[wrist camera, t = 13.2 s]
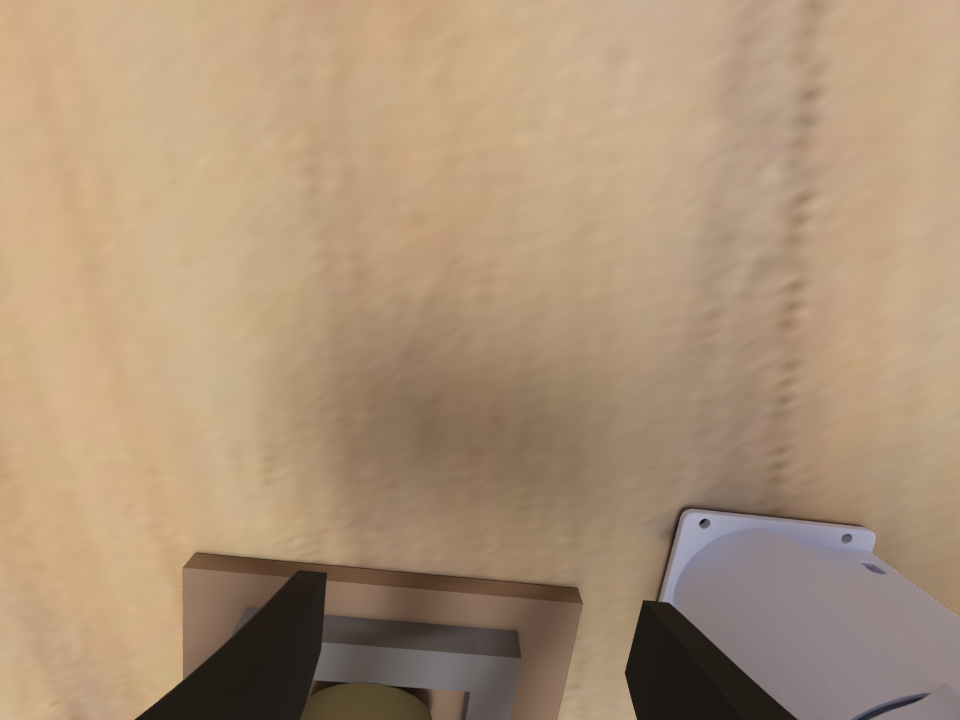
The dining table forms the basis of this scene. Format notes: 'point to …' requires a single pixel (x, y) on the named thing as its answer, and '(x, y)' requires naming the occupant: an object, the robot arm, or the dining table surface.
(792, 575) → the robot arm
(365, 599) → the socket board
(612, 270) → the dining table surface
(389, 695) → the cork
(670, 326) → the dining table surface
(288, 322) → the dining table surface
